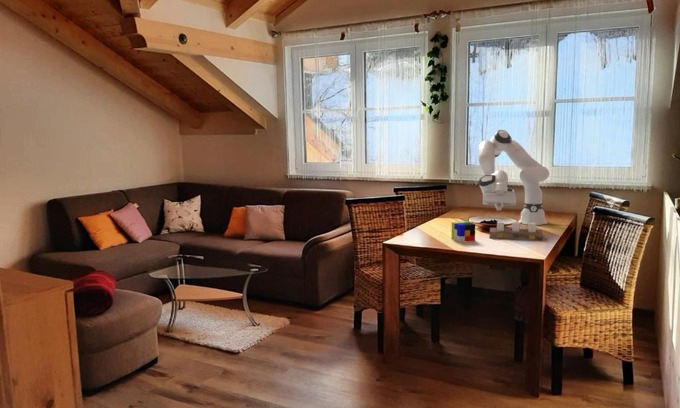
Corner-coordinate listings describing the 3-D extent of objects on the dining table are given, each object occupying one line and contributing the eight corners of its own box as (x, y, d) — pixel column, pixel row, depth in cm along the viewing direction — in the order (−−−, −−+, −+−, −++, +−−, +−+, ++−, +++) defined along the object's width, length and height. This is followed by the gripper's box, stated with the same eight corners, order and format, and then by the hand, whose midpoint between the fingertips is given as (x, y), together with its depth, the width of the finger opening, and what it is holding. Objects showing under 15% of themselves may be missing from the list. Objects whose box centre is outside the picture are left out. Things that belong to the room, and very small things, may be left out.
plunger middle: (512, 231, 312) (512, 221, 311) (519, 231, 311) (519, 222, 310) (512, 232, 308) (512, 223, 308) (519, 233, 307) (519, 223, 306)
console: (490, 233, 320) (490, 227, 320) (541, 236, 311) (541, 229, 311) (489, 238, 309) (489, 231, 308) (543, 240, 300) (543, 234, 299)
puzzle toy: (459, 242, 300) (459, 225, 298) (451, 238, 309) (451, 222, 308) (474, 240, 303) (475, 224, 301) (466, 237, 312) (466, 221, 311)
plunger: (528, 232, 310) (528, 222, 309) (535, 232, 308) (535, 222, 307) (528, 233, 306) (528, 223, 305) (535, 233, 305) (535, 223, 304)
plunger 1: (496, 230, 315) (497, 221, 314) (503, 231, 314) (504, 221, 313) (496, 232, 311) (497, 222, 310) (503, 232, 310) (504, 222, 309)
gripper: (482, 188, 327) (481, 206, 319) (516, 189, 320) (516, 207, 312) (483, 194, 331) (481, 212, 324) (516, 195, 325) (515, 213, 317)
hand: (498, 209), depth 318 cm, fingers closed
